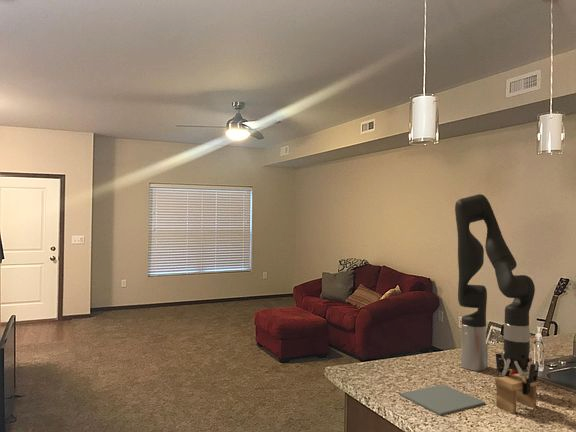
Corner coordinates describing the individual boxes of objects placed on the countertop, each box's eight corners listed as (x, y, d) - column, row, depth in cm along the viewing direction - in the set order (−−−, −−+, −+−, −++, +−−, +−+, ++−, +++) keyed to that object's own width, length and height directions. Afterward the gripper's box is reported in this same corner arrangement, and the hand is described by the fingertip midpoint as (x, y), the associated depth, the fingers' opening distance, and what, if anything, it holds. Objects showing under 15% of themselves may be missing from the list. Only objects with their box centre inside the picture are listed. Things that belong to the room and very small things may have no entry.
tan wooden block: (520, 400, 152) (520, 373, 152) (537, 407, 147) (537, 378, 147) (495, 406, 146) (495, 378, 146) (512, 413, 141) (512, 384, 141)
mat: (443, 385, 165) (443, 384, 165) (485, 404, 149) (485, 402, 149) (399, 395, 155) (399, 393, 155) (439, 415, 139) (439, 413, 139)
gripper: (545, 342, 142) (545, 396, 142) (504, 331, 155) (504, 382, 155) (529, 345, 139) (529, 401, 138) (489, 334, 151) (489, 385, 151)
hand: (516, 390), depth 147 cm, fingers closed on tan wooden block, 6 cm apart
